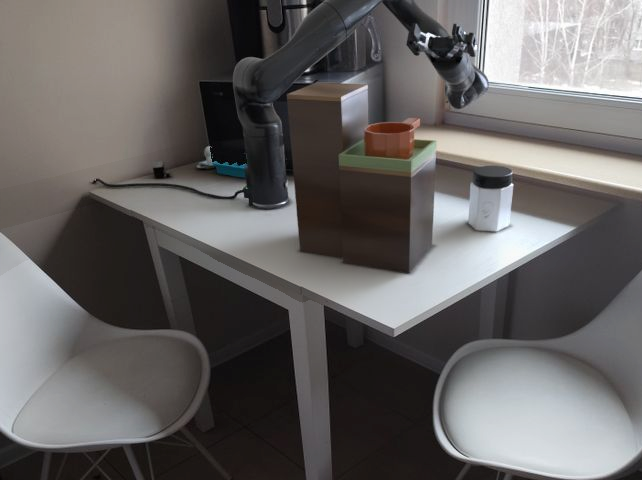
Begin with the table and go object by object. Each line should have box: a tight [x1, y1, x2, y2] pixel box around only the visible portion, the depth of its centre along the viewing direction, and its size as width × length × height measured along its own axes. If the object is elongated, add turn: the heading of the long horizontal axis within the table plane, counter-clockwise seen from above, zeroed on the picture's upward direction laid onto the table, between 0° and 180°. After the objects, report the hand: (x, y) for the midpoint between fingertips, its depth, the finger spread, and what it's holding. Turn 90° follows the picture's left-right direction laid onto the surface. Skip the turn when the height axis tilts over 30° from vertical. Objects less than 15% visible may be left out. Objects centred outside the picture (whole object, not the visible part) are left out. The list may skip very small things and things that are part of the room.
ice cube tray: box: [212, 161, 247, 179], centre depth 178 cm, size 12×20×3 cm, turn 58°
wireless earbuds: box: [152, 160, 172, 179], centre depth 179 cm, size 5×7×3 cm, turn 13°
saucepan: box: [364, 117, 421, 160], centre depth 118 cm, size 18×9×5 cm, turn 155°
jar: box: [467, 165, 514, 232], centre depth 134 cm, size 9×8×12 cm
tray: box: [339, 138, 437, 172], centre depth 116 cm, size 14×14×2 cm
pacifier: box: [196, 145, 216, 170], centre depth 183 cm, size 7×6×6 cm
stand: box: [286, 81, 437, 274], centre depth 120 cm, size 14×25×31 cm, turn 64°
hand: (433, 28), depth 124 cm, fingers open, 8 cm apart
